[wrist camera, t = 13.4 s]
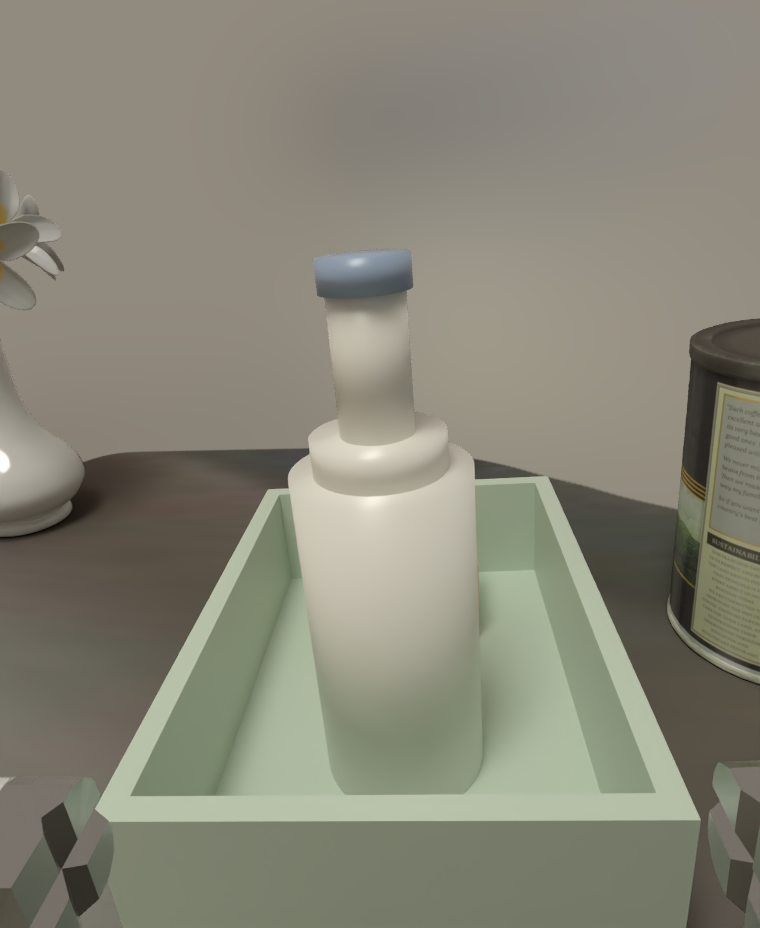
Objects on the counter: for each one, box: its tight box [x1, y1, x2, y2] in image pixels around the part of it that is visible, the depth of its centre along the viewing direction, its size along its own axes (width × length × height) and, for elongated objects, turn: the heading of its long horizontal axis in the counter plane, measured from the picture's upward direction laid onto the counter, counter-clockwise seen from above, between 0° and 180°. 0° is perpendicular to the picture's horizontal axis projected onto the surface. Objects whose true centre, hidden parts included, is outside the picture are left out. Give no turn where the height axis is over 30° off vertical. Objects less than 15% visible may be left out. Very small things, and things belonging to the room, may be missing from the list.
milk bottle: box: [288, 249, 483, 795], centre depth 22 cm, size 6×6×19 cm
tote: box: [95, 476, 701, 928], centre depth 28 cm, size 16×22×6 cm
